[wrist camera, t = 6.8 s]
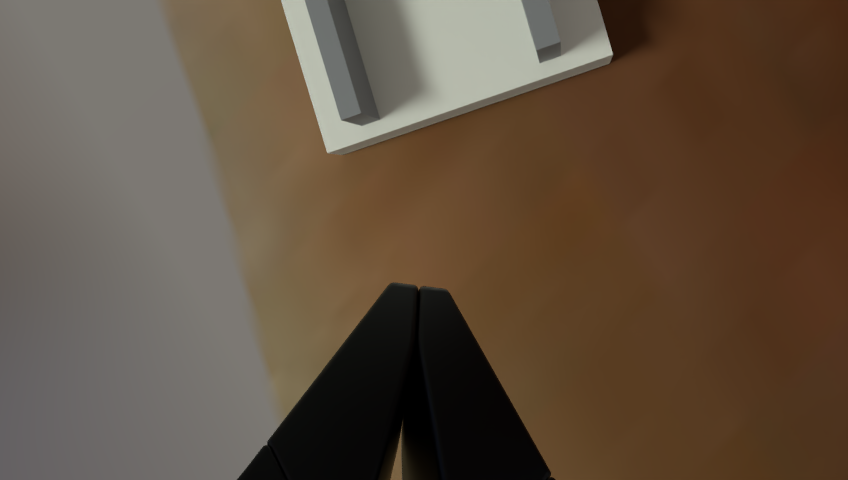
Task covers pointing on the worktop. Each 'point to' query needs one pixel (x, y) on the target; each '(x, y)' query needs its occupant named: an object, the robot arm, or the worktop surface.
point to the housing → (433, 58)
